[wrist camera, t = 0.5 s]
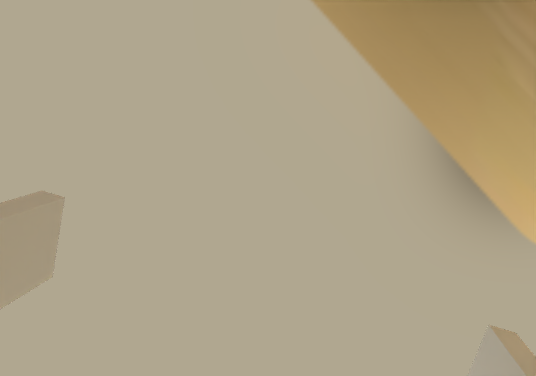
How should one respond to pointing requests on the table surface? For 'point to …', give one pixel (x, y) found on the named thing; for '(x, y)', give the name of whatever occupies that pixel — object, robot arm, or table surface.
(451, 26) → the table surface
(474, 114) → the table surface
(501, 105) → the table surface
